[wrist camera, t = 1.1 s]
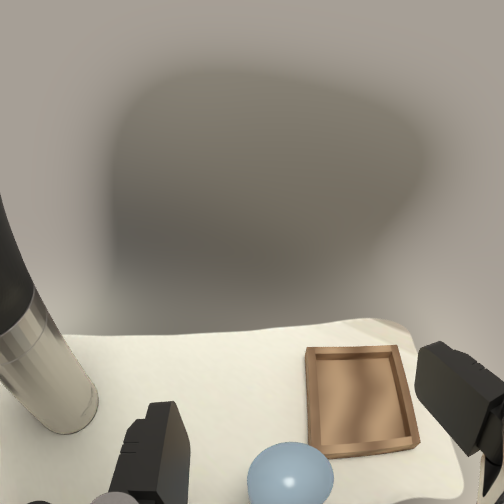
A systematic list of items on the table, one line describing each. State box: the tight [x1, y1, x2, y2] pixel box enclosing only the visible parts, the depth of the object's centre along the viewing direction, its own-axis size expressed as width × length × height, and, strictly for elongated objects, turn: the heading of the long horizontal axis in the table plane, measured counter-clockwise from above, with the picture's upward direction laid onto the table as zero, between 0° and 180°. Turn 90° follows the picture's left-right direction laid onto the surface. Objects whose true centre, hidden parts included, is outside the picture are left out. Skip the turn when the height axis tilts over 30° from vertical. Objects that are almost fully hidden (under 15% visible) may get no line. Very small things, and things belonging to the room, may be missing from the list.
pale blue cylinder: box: [247, 442, 334, 504], centre depth 20 cm, size 6×6×12 cm
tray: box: [305, 345, 421, 459], centre depth 32 cm, size 12×14×2 cm
